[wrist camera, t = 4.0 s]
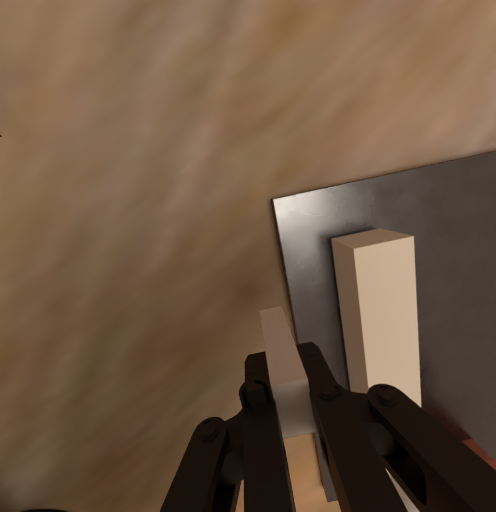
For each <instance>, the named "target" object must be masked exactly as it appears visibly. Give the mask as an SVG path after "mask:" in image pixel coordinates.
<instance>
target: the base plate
mask: <svg viewBox="0 0 496 512" xmlns="http://www.w3.org/2000/svg"><path fill="white" fill-rule="evenodd" d="M271 203H272V208H273V214H274V219H275V225H276V230H277V236H278V241H279V247H280V252H281V258H282V263H283V269H284V274H285V280H286V285H287V291H288V296H289V302H290V307H291V313H292V318H293V324H294V329H295V335H296V340H297V344H302V343H307V342H313V343H314V344H316V345H317V346H318V347H319V349H320V351H321V353H322V355H323V356H324V358H325V360H326V362H327V364H328V366H329V368H330V370H331V372H332V374H333V376H334V378H335V380H336V382H337V383H338V384H340V385H341V386H342V387H343V388H344V389H346V390H348V391H351V390H350V382H349V374H348V366H347V359H346V351H345V343H344V335H343V327H342V320H341V312H340V304H339V296H338V288H337V280H336V273H335V265H334V257H333V249H332V241H331V239H332V238H336V237H341V236H346V235H350V234H355V233H360V232H365V231H369V230H374V229H379V228H380V229H385V230H389V231H394V232H398V233H402V234H407V235H411V236H414V253H415V275H416V298H417V320H418V343H419V365H420V387H421V408H422V409H423V410H425V411H426V412H427V413H428V414H429V415H431V416H432V417H433V418H434V419H435V420H437V421H438V422H439V423H440V424H441V425H443V426H444V427H445V428H446V429H447V430H449V431H450V432H451V433H452V434H453V435H455V436H456V437H457V438H458V439H459V440H460V441H464V440H469V439H473V440H474V441H475V442H476V443H477V444H478V445H479V446H480V447H481V448H482V449H483V450H484V451H485V452H486V453H487V454H488V455H489V456H490V457H491V458H492V459H496V151H493V152H488V153H484V154H479V155H474V156H470V157H465V158H460V159H456V160H451V161H446V162H442V163H437V164H432V165H428V166H423V167H419V168H414V169H409V170H405V171H400V172H395V173H391V174H386V175H381V176H377V177H372V178H367V179H363V180H358V181H354V182H349V183H344V184H340V185H335V186H330V187H326V188H321V189H316V190H312V191H307V192H302V193H298V194H293V195H289V196H284V197H279V198H275V199H271ZM316 429H317V428H316ZM313 434H314V439H315V445H316V450H317V456H318V461H319V467H320V472H321V478H322V483H323V488H324V492H325V495H326V498H327V502H331V501H336V500H338V499H337V496H336V493H335V490H334V486H333V483H332V480H331V477H330V474H329V470H328V467H327V464H326V461H325V459H323V456H322V450H321V445H320V439H319V434H318V431H317V432H314V433H313Z"/></svg>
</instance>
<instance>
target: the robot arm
mask: <svg viewBox="0 0 496 512" xmlns="http://www.w3.org/2000/svg"><path fill="white" fill-rule="evenodd" d="M259 313H260V320H261V326H262V333H263V339H264V346H265V352H260V353H255V354H250V355H248V356H247V358H246V360H245V382H244V383H243V384H242V386H241V387H240V389H239V396H240V400H241V404H242V410H241V411H240V412H239V413H238V414H237V415H236V416H234V417H232V418H231V419H229V420H227V421H224V420H222V419H221V418H219V417H210V418H207V419H205V420H203V421H202V422H201V423H200V424H199V425H198V426H197V427H196V429H195V431H194V433H193V435H192V437H191V440H190V442H189V444H188V447H187V449H186V451H185V454H184V456H183V458H182V461H181V463H180V465H179V468H178V470H177V472H176V475H175V477H174V479H173V482H172V484H171V486H170V489H169V491H168V493H167V496H166V498H165V500H164V503H163V505H162V507H161V510H160V512H235V510H236V505H237V500H238V495H239V490H240V485H241V481H242V480H243V479H244V512H296V508H295V503H294V497H293V491H292V486H291V480H290V474H289V468H288V463H287V457H286V451H285V447H284V442H283V438H288V437H293V436H298V435H304V434H309V433H314V432H317V431H318V434H319V439H320V445H321V450H322V456H323V459H325V461H326V464H327V467H328V470H329V474H330V477H331V480H332V483H333V486H334V490H335V493H336V496H337V499H338V502H339V506H340V509H341V512H408V510H407V509H406V507H405V505H404V503H403V501H402V499H401V497H400V495H399V493H398V491H397V489H396V487H395V486H394V484H393V482H392V480H391V478H390V476H389V474H388V472H389V473H390V475H391V476H392V477H393V478H394V480H395V481H396V482H397V484H398V485H399V486H400V487H401V489H402V490H403V491H404V493H405V494H406V495H407V496H408V498H409V499H410V500H411V502H412V503H413V504H414V505H415V507H416V508H417V509H418V510H419V512H496V470H495V469H494V468H493V467H492V466H490V465H489V464H488V463H487V462H486V461H484V460H483V459H482V458H481V457H480V456H478V455H477V454H476V453H475V452H474V451H472V450H471V449H470V448H469V447H468V446H466V445H465V444H464V443H463V442H462V441H460V440H459V439H458V438H457V437H456V436H455V435H453V434H452V433H451V432H450V431H449V430H447V429H446V428H445V427H444V426H443V425H441V424H440V423H439V422H438V421H437V420H435V419H434V418H433V417H432V416H431V415H429V414H428V413H427V412H426V411H425V410H423V409H422V408H421V407H420V406H419V405H418V404H416V403H415V402H414V401H413V400H412V399H410V398H409V397H408V396H407V395H406V394H404V393H403V392H402V391H401V390H399V389H398V388H396V387H394V386H391V385H388V384H376V385H373V386H372V387H370V388H369V390H368V392H367V393H356V392H351V391H348V390H346V389H344V388H343V387H342V386H341V385H340V384H338V383H337V382H336V380H335V378H334V376H333V374H332V372H331V370H330V368H329V366H328V364H327V362H326V360H325V358H324V356H323V355H322V353H321V351H320V349H319V347H318V346H317V345H316V344H314V343H313V342H307V343H302V344H297V345H295V342H294V339H293V337H292V334H291V331H290V328H289V326H288V323H287V320H286V317H285V314H284V312H283V309H282V306H278V307H273V308H268V309H263V310H259ZM316 428H317V429H316ZM386 469H387V470H386ZM387 471H388V472H387ZM34 512H52V511H34Z"/></svg>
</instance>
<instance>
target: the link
mask: <svg viewBox="0 0 496 512" xmlns="http://www.w3.org/2000/svg"><path fill="white" fill-rule="evenodd" d="M331 241H332V249H333V257H334V265H335V273H336V280H337V288H338V296H339V304H340V312H341V320H342V327H343V335H344V343H345V351H346V359H347V366H348V374H349V382H350V390H351V392H356V393H367V392H368V390H369V388H370V387H372V386H373V385H376V384H388V385H391V386H394V387H396V388H398V389H399V390H401V391H402V392H403V393H404V394H406V395H407V396H408V397H409V398H410V399H412V400H413V401H414V402H415V403H416V404H418V405H419V406H420V407H421V387H420V365H419V343H418V320H417V298H416V275H415V253H414V236H411V235H407V234H402V233H398V232H394V231H389V230H385V229H380V228H379V229H374V230H369V231H365V232H360V233H355V234H350V235H346V236H341V237H336V238H332V239H331ZM386 470H387V469H386ZM387 472H388V471H387ZM388 474H389V476H390V478H391V480H392V482H393V484H394V486H395V487H396V489H397V491H398V493H399V495H400V497H401V499H402V501H403V503H404V505H405V507H406V509H407V510H408V512H419V510H418V509H417V508H416V507H415V505H414V504H413V503H412V502H411V500H410V499H409V498H408V496H407V495H406V494H405V493H404V491H403V490H402V489H401V487H400V486H399V485H398V484H397V482H396V481H395V480H394V478H393V477H392V476H391V475H390V473H389V472H388Z"/></svg>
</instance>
